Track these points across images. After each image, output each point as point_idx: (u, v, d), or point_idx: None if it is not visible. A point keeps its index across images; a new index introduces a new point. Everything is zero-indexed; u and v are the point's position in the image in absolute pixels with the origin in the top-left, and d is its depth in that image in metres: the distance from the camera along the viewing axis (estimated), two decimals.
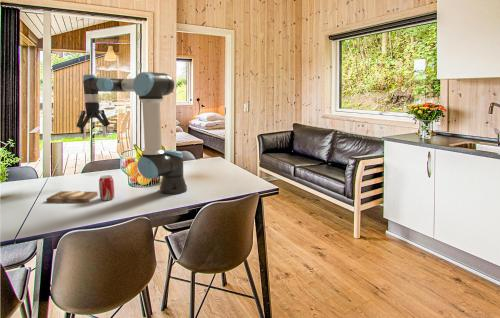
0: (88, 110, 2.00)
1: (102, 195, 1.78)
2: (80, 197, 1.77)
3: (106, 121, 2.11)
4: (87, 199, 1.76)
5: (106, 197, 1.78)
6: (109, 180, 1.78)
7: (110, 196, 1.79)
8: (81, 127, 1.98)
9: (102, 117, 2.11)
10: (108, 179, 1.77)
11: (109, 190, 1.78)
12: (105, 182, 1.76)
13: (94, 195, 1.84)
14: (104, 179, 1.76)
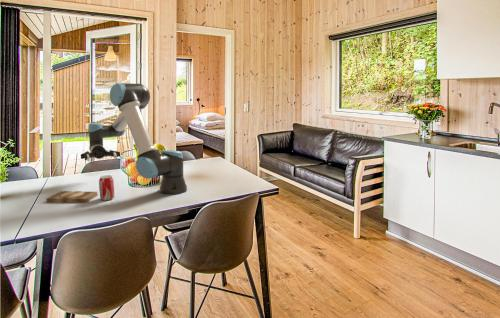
0: None
1: (102, 195, 1.78)
2: (80, 197, 1.77)
3: None
4: (87, 199, 1.76)
5: (106, 197, 1.78)
6: (109, 180, 1.78)
7: (110, 196, 1.79)
8: (84, 155, 1.88)
9: None
10: (108, 179, 1.77)
11: (109, 190, 1.78)
12: (105, 182, 1.76)
13: (94, 195, 1.84)
14: (104, 179, 1.76)
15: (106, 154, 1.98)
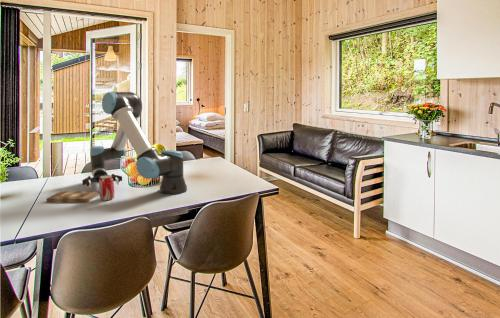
0: (94, 176, 1.98)
1: (102, 195, 1.78)
2: (80, 197, 1.77)
3: None
4: (87, 199, 1.76)
5: (106, 197, 1.78)
6: (109, 180, 1.78)
7: (110, 196, 1.79)
8: (86, 181, 1.87)
9: None
10: (108, 179, 1.77)
11: (109, 189, 1.78)
12: (105, 182, 1.76)
13: (94, 195, 1.84)
14: (104, 179, 1.77)
15: None
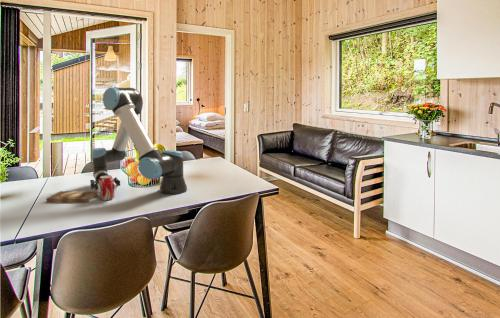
0: (96, 179, 1.89)
1: (102, 195, 1.78)
2: (80, 197, 1.77)
3: (116, 180, 1.87)
4: (87, 199, 1.76)
5: (106, 197, 1.78)
6: (109, 180, 1.78)
7: (110, 196, 1.79)
8: (94, 185, 1.79)
9: None
10: (108, 179, 1.77)
11: (109, 189, 1.78)
12: (105, 182, 1.76)
13: (94, 195, 1.84)
14: (104, 179, 1.76)
15: None
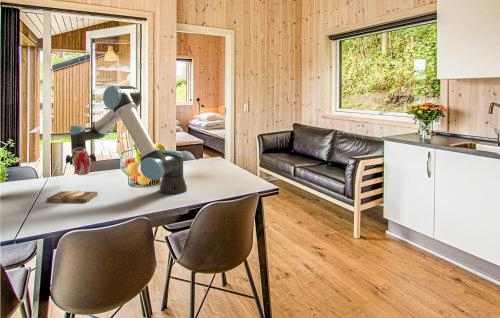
0: (72, 155, 1.88)
1: (76, 170, 1.76)
2: (80, 197, 1.77)
3: (92, 156, 1.85)
4: (87, 199, 1.76)
5: (81, 172, 1.76)
6: (84, 155, 1.76)
7: (84, 171, 1.77)
8: (69, 159, 1.78)
9: None
10: (83, 153, 1.76)
11: (84, 164, 1.77)
12: (80, 156, 1.75)
13: (94, 195, 1.84)
14: (78, 153, 1.75)
15: None
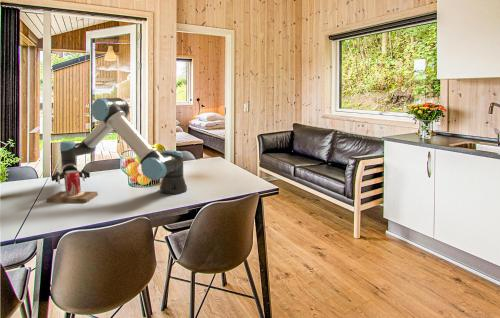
0: (63, 171, 1.89)
1: (67, 190, 1.78)
2: (80, 197, 1.77)
3: None
4: (87, 199, 1.76)
5: (71, 192, 1.78)
6: (74, 175, 1.77)
7: (75, 191, 1.79)
8: (55, 177, 1.78)
9: None
10: (73, 174, 1.77)
11: (75, 184, 1.78)
12: (70, 177, 1.76)
13: (94, 195, 1.84)
14: (69, 174, 1.76)
15: None
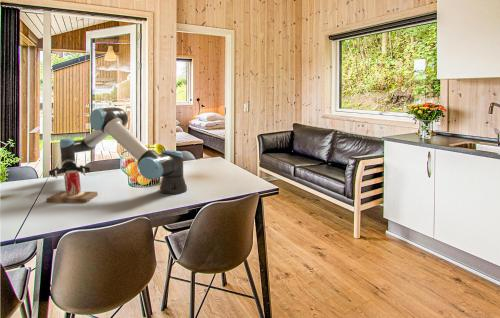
0: (62, 167, 2.00)
1: (67, 190, 1.78)
2: (80, 197, 1.77)
3: None
4: (87, 199, 1.76)
5: (71, 192, 1.78)
6: (74, 175, 1.77)
7: (75, 191, 1.79)
8: (52, 171, 1.90)
9: None
10: (73, 174, 1.77)
11: (75, 184, 1.78)
12: (70, 177, 1.76)
13: (94, 195, 1.84)
14: (69, 174, 1.76)
15: None
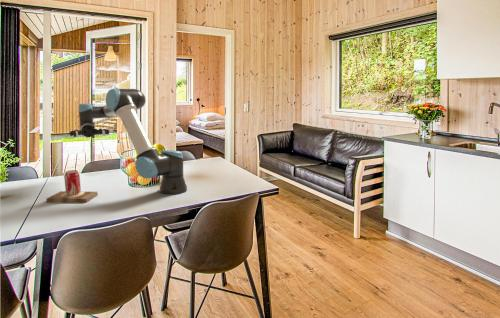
0: None
1: (67, 190, 1.78)
2: (80, 197, 1.77)
3: None
4: (87, 199, 1.76)
5: (71, 192, 1.78)
6: (74, 175, 1.77)
7: (75, 191, 1.79)
8: None
9: None
10: (73, 174, 1.77)
11: (75, 184, 1.78)
12: (70, 177, 1.76)
13: (94, 195, 1.84)
14: (69, 174, 1.76)
15: (95, 132, 2.03)
